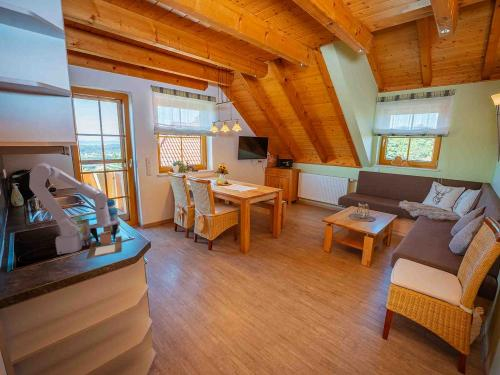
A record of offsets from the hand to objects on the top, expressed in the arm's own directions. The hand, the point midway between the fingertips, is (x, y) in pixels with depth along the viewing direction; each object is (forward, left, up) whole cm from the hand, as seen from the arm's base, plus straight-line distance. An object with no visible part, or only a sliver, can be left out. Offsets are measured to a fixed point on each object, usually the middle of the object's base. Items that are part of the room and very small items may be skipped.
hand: (106, 240), depth 125 cm
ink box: (-12, +12, -2) cm, 17 cm away
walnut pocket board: (0, -6, -2) cm, 6 cm away
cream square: (0, -11, -1) cm, 11 cm away
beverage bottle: (+2, +15, -2) cm, 15 cm away
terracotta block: (0, 0, -2) cm, 2 cm away
